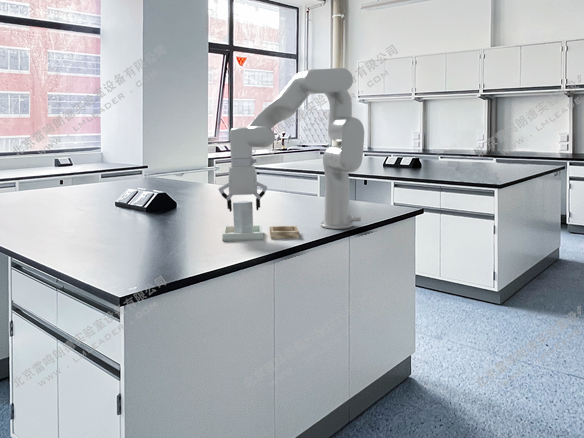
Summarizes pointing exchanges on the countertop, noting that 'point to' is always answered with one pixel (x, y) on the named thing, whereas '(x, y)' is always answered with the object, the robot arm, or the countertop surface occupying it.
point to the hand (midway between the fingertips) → (244, 210)
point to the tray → (242, 234)
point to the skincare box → (243, 217)
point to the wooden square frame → (284, 232)
